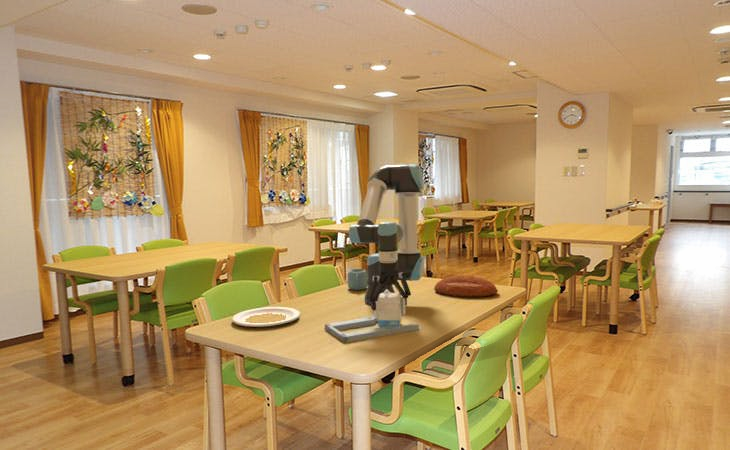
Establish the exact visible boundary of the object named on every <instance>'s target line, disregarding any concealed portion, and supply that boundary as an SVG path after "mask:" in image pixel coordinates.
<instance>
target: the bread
mask: <svg viewBox="0 0 730 450" xmlns="http://www.w3.org/2000/svg"><path fill="white" fill-rule="evenodd" d="M433 289H434V291H435V292H436V293H439V294H441V295H447V296H453V297H461V298H479V297H480V298H481V297H488V296H489V297H490V296H492V295H495V294H497V293H498V292H499V290H498V289H497V287H496V285H495V284H494V283H493V282H491V280H488V279H485V278H482V277H477V276H474V275H462V274H461V275H455V276H454V275H452V276H448V277H444V278H442V279H441V280H439V281H437V282H436V283H435V285H434V288H433Z"/></svg>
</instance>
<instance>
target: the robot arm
mask: <svg viewBox="0 0 730 450" xmlns="http://www.w3.org/2000/svg"><path fill="white" fill-rule="evenodd" d="M424 183H425V182H424V175H423V171H422V168H421V167H420V165H419V164H414V163H412V164H411V163H408V164H387V165H384V166H381V167H379V168H378V169H377V170H375V172H374V173H372V174H371V176H370V177H369V178H368V181H367V185H366V189H367V190H366V191H367V192H366V195H365V198H364V201H363V204H362V208H361V211H360V213H359V216H358V220H357V222H356V224H352V225H350V226H349V228H348V238H349V241H350V242H351V243H353V244H378V253H372V254H370V255H368V256H367V261H366V262H367V264H366V267H367V270H366V272H367V278H368V287H367V288H366V291H365V295H364V303H365V304H368V305H371V306H370V307H371V310H372V311H373V313H372V314H373V317H374V318H376V319H378V302H377V299H378V297H379V295H380V294H381V293H383V292H384V291H385V290H386V289H387V290H389V291H390V292H391V293H396V292H395V288H396V290H397V291H398V293H401V315H406V306H408V303H407V302H408V298H409V296H411V295H412V292H411V289H410V287H409V285H408V282H407V281H409V282H412V281H414V282H416V281H420V280H421V278H422V276H423V273H424V268H425V267H424V266H425V257H424V255H421V250H419V249H418V196H419V195H420V194H421V190H423V189H424V187H425V185H424ZM389 190H390V191H394V194H395V195H396V196H397V198H398V199H397V201H398V202H397V206H398V224H397V222H395V221H383V222H382V221H381V222H379V223H378V224H377V223H376V222H377V221H378V220H377V219H378V216H379V214H380V213H379V212H380V209H381V204H382V201H383V198H384V195H385V194H387V191H389ZM399 281H400V282H401V284H400V283H399ZM401 286H402V287H401ZM394 287H395V288H394ZM386 293H387V292H386Z"/></svg>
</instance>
